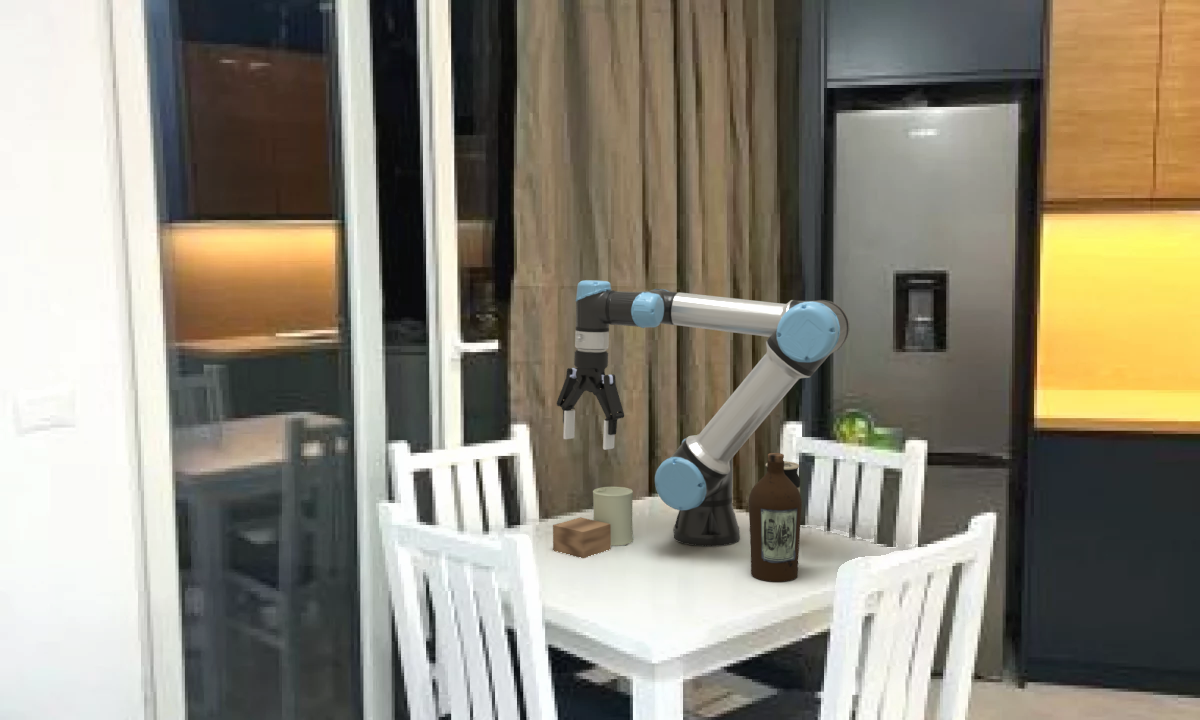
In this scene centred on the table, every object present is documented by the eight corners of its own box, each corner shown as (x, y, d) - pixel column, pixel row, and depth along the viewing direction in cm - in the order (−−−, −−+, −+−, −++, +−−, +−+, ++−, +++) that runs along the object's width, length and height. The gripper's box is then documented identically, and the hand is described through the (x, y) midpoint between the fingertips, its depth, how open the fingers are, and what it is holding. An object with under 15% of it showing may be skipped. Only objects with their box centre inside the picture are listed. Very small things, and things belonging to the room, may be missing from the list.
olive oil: (743, 568, 223) (744, 449, 221) (794, 567, 224) (795, 449, 221) (753, 583, 213) (754, 459, 210) (806, 582, 213) (808, 459, 211)
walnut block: (610, 550, 237) (610, 524, 237) (583, 559, 231) (583, 532, 230) (580, 543, 243) (580, 517, 243) (553, 551, 237) (552, 525, 236)
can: (591, 535, 249) (591, 484, 248) (630, 534, 250) (630, 484, 248) (594, 546, 240) (594, 493, 239) (635, 545, 241) (635, 493, 239)
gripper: (543, 345, 246) (540, 436, 248) (617, 356, 227) (613, 455, 230) (568, 343, 251) (565, 432, 253) (642, 355, 232) (638, 451, 235)
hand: (588, 443), depth 241 cm, fingers open, 13 cm apart
